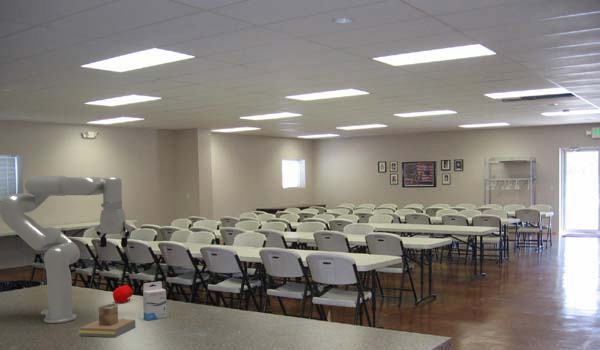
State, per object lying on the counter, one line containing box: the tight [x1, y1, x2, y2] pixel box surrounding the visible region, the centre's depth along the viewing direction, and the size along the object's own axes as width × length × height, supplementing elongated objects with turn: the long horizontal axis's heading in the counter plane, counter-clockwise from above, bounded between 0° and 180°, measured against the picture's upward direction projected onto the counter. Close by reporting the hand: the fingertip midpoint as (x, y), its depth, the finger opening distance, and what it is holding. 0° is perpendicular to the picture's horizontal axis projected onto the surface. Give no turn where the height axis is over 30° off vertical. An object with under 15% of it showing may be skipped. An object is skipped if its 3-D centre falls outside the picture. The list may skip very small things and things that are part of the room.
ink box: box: [142, 281, 167, 321], centre depth 236 cm, size 8×5×15 cm, turn 123°
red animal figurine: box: [112, 284, 134, 304], centre depth 270 cm, size 8×8×8 cm
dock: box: [78, 318, 136, 338], centre depth 216 cm, size 15×14×3 cm
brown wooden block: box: [98, 303, 119, 326], centre depth 216 cm, size 5×5×7 cm
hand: (114, 247), depth 236 cm, fingers open, 9 cm apart
